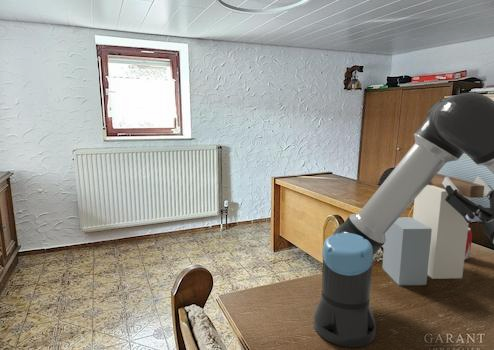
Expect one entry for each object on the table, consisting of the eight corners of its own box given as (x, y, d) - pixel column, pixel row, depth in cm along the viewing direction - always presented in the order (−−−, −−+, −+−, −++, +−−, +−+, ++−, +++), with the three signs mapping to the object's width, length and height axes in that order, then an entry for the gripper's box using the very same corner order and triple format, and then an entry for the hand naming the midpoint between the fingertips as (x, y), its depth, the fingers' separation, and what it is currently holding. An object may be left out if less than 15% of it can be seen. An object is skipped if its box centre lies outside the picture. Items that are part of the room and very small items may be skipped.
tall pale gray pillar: (398, 285, 102) (403, 229, 98) (382, 268, 113) (385, 217, 110) (426, 284, 102) (431, 228, 99) (407, 267, 114) (411, 217, 110)
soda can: (473, 261, 119) (477, 230, 117) (454, 261, 119) (458, 230, 117) (461, 253, 126) (464, 224, 124) (443, 253, 126) (446, 224, 124)
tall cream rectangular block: (432, 278, 106) (441, 191, 101) (409, 259, 121) (415, 182, 116) (462, 278, 106) (472, 191, 101) (435, 259, 121) (442, 182, 116)
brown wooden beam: (461, 197, 92) (462, 186, 92) (419, 183, 114) (420, 173, 114) (491, 197, 93) (492, 185, 92) (444, 183, 114) (445, 173, 114)
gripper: (458, 245, 84) (421, 188, 101) (540, 244, 84) (489, 188, 102) (471, 226, 79) (430, 170, 97) (558, 225, 80) (501, 170, 97)
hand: (460, 179), depth 99 cm, fingers open, 9 cm apart
